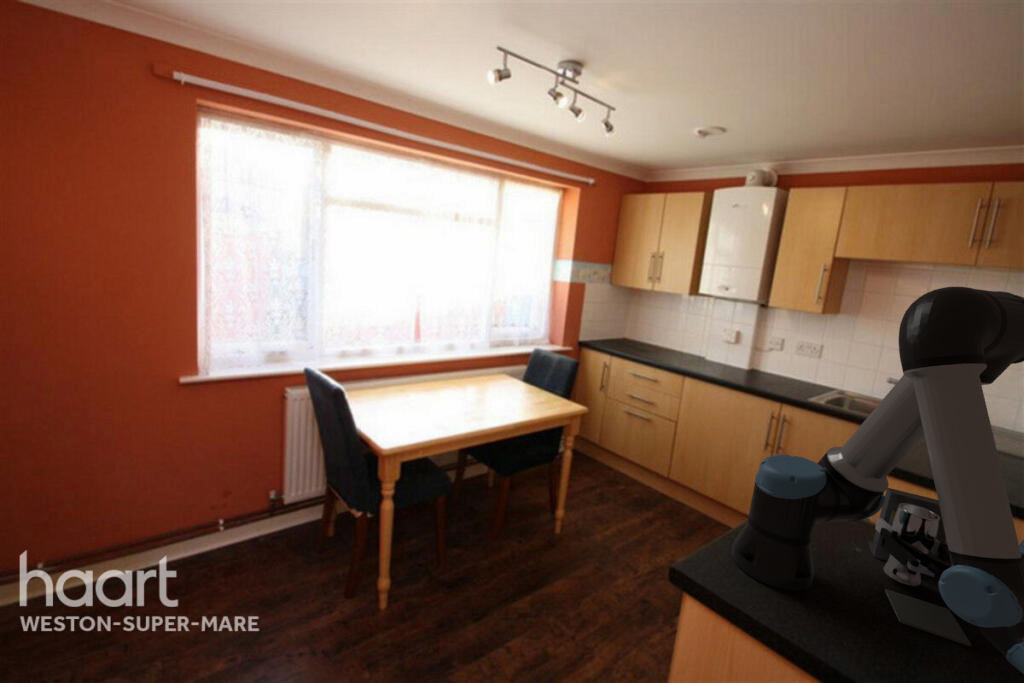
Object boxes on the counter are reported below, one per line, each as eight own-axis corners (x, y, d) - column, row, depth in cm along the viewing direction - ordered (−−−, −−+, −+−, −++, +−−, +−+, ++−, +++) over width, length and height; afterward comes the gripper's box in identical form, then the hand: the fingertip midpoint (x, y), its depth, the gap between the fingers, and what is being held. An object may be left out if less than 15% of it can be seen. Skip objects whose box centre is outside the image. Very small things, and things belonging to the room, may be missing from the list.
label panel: (874, 558, 107) (891, 493, 104) (868, 545, 112) (884, 483, 109) (984, 591, 99) (1005, 521, 96) (971, 575, 104) (991, 509, 101)
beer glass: (874, 562, 103) (890, 499, 101) (911, 570, 101) (929, 507, 99) (890, 582, 96) (908, 515, 94) (930, 591, 95) (949, 523, 92)
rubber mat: (899, 622, 86) (900, 620, 86) (884, 591, 95) (885, 588, 95) (970, 646, 82) (971, 644, 82) (948, 611, 91) (948, 609, 91)
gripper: (908, 604, 82) (843, 532, 105) (1038, 632, 79) (943, 552, 101) (919, 566, 81) (851, 502, 103) (1052, 593, 78) (952, 520, 100)
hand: (897, 527), depth 102 cm, fingers closed on beer glass, 7 cm apart
